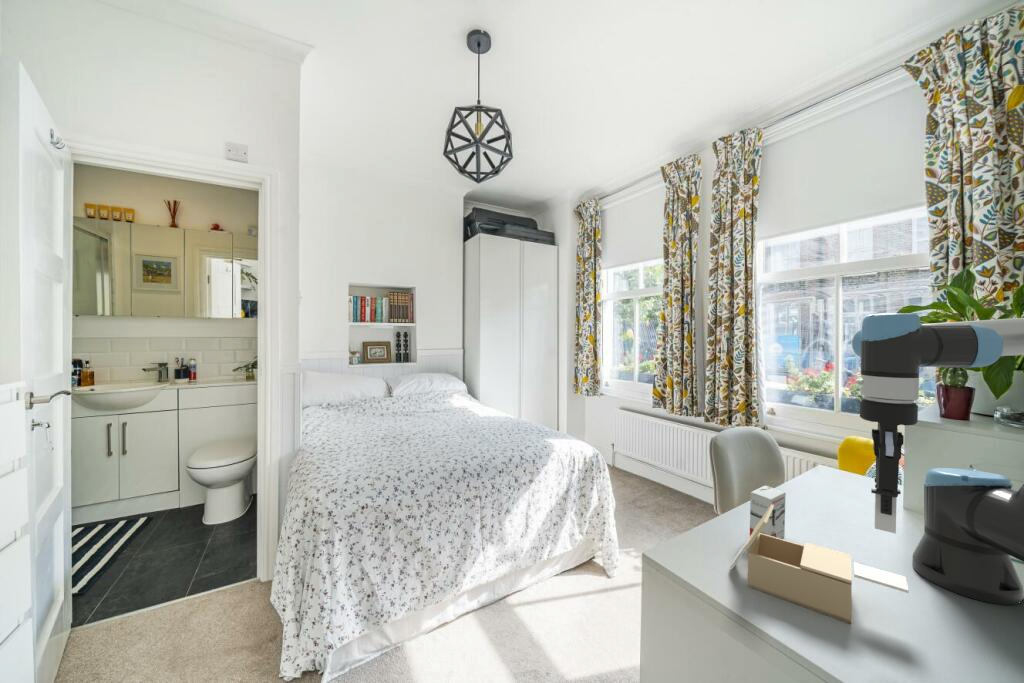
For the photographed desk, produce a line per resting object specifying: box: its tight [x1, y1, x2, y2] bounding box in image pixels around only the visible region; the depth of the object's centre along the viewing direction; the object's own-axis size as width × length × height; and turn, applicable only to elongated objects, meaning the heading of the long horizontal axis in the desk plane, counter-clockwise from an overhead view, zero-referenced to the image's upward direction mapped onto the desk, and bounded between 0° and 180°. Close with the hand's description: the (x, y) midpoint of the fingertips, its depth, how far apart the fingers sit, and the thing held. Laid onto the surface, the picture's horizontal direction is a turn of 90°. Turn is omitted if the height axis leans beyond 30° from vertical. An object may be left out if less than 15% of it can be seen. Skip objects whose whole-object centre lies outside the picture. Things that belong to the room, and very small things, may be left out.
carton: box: [747, 533, 853, 625], centre depth 79 cm, size 16×11×7 cm
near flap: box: [800, 542, 910, 594], centre depth 74 cm, size 15×11×1 cm
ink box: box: [749, 485, 787, 539], centre depth 99 cm, size 8×5×12 cm, turn 123°
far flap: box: [729, 504, 774, 570], centre depth 84 cm, size 15×11×1 cm
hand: (884, 529), depth 70 cm, fingers closed
